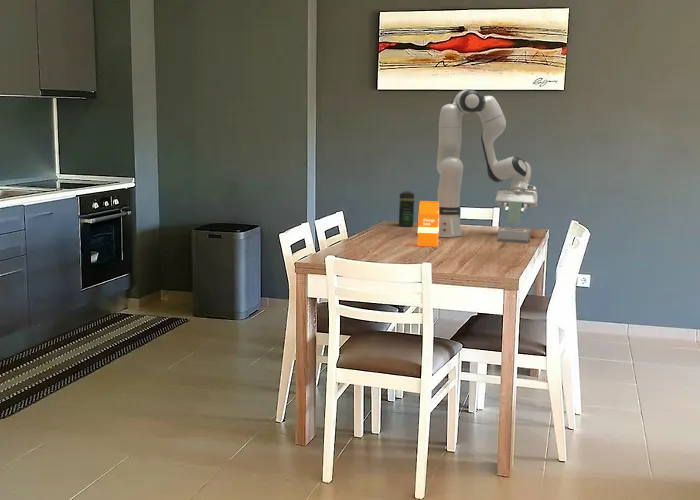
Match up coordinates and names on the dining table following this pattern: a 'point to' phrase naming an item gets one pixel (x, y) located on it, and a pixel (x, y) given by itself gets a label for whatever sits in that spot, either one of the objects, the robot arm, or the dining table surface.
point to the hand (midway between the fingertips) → (514, 211)
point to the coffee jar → (406, 209)
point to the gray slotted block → (513, 235)
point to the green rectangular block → (514, 212)
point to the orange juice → (428, 223)
